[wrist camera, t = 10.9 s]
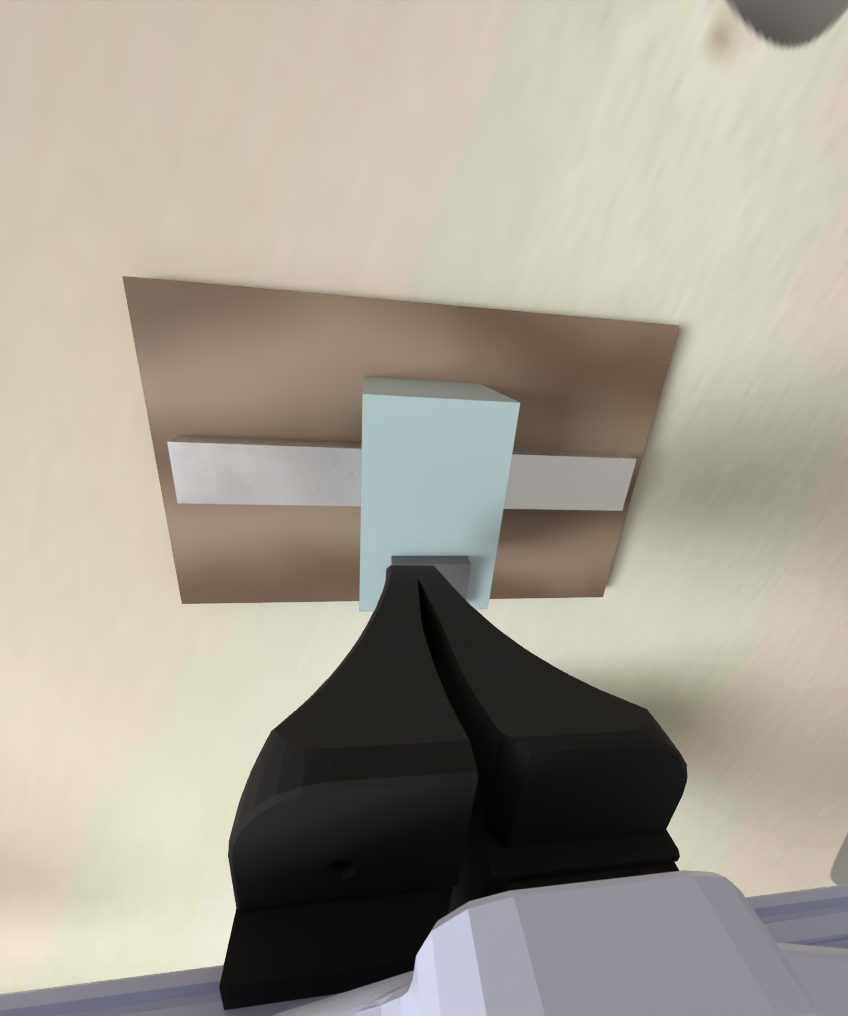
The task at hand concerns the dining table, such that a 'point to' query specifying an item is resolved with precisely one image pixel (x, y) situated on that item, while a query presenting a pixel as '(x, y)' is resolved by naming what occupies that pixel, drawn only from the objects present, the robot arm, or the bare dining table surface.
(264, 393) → the rail board
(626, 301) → the dining table surface
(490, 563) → the module
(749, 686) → the dining table surface
